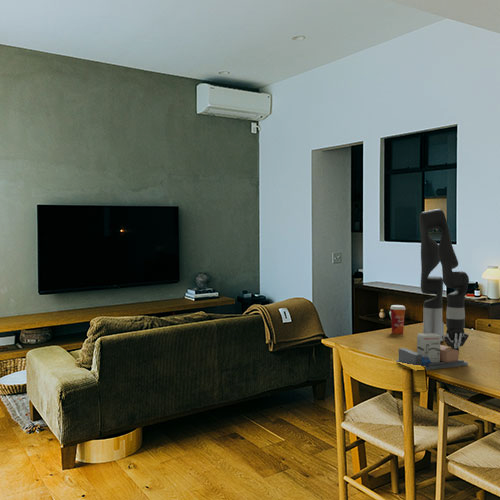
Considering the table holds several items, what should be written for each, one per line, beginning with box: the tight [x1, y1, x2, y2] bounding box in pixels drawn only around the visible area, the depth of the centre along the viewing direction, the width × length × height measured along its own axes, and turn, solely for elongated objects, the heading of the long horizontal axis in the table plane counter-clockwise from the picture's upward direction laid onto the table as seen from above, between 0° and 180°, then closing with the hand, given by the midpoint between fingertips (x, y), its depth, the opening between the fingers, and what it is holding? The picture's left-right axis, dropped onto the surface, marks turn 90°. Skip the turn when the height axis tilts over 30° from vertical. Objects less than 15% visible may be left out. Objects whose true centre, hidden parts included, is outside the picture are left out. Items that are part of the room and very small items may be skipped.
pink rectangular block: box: [440, 344, 460, 362], centre depth 224 cm, size 6×11×5 cm, turn 18°
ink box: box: [416, 332, 441, 363], centre depth 222 cm, size 9×5×12 cm, turn 97°
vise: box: [395, 347, 469, 371], centre depth 222 cm, size 26×14×6 cm, turn 108°
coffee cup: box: [389, 304, 406, 335], centre depth 285 cm, size 8×8×15 cm
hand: (455, 356), depth 226 cm, fingers closed
